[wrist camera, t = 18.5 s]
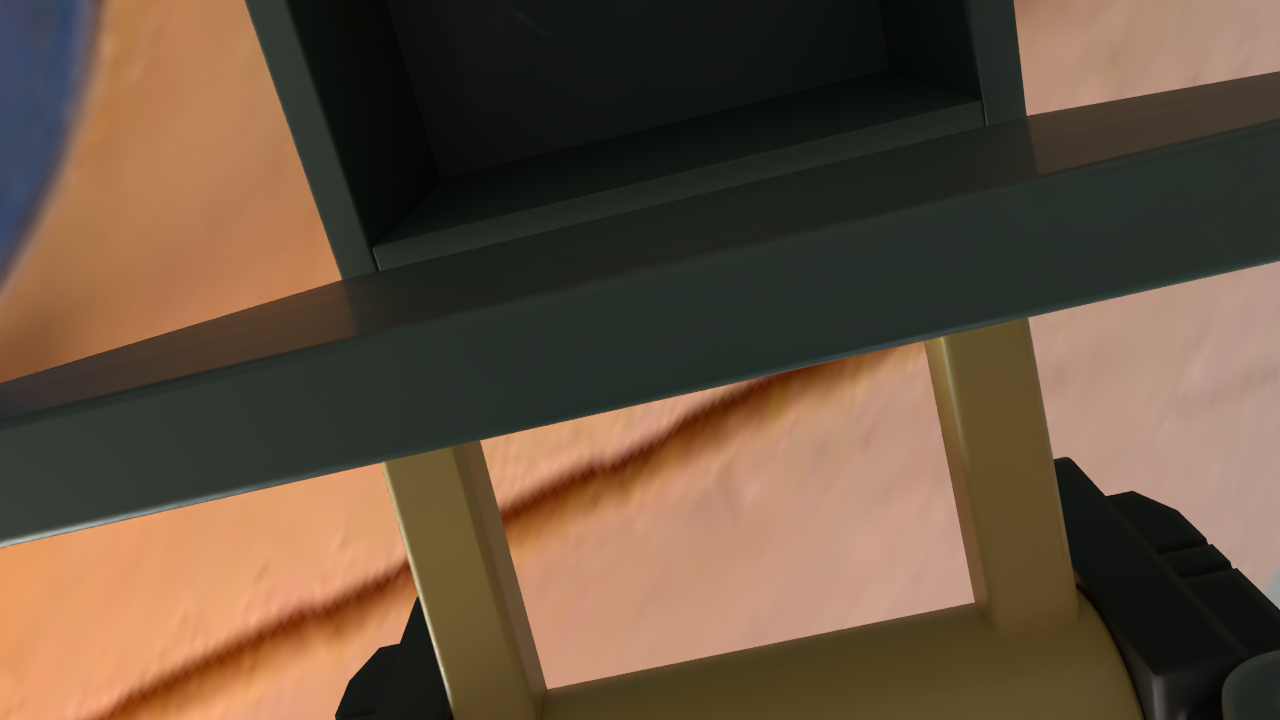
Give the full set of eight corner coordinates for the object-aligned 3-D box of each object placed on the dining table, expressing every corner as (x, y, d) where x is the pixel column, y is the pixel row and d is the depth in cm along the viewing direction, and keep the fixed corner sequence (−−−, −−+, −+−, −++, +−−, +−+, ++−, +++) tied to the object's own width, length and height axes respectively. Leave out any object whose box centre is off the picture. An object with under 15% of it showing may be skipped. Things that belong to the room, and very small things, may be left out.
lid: (-542, 546, 7) (-226, 1262, 8) (2121, -79, 5) (2129, 865, 6) (335, 281, 24) (401, 512, 25) (1033, 114, 22) (1076, 364, 23)
